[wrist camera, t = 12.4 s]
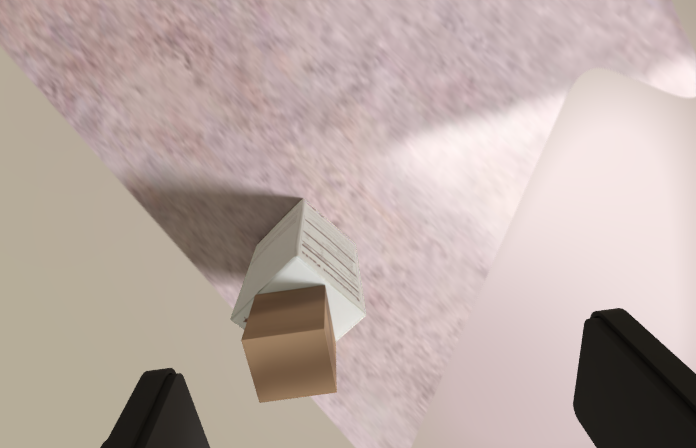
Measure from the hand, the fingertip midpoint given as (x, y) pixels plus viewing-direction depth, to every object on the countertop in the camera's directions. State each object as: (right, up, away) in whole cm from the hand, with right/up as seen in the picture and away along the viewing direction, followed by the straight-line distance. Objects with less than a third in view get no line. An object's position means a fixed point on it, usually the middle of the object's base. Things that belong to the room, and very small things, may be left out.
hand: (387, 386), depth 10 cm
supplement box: (-5, +2, +32) cm, 33 cm away
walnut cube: (-5, -3, +21) cm, 21 cm away
